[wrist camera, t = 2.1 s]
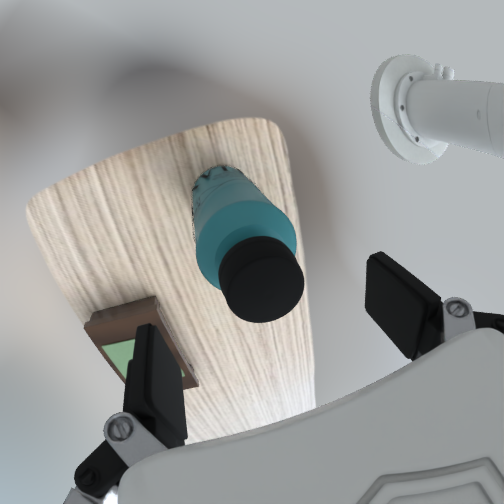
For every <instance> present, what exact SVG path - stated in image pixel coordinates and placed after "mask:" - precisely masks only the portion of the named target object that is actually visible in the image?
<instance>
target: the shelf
mask: <svg viewBox="0 0 504 504" xmlns="http://www.w3.org/2000/svg"><path fill="white" fill-rule="evenodd" d="M147 323H151V324H152V325H153V326H154V325H156V326H157V327H158V329H159V331H160V333H161V335H162V336H163V338H164V340H165V342H166V344H167V345H168V347H169V349H170V351H171V352H172V354H173V356H174V357H175V359H176V361H177V363H178V364H179V366H180V368H181V372H182V382H183V390H185V389H189V388H194V387H199V381H198V379H197V378H196V376H195V374H194V369H193V368H192V366H191V365H189V364H188V362H187V360H186V358H185V357H184V355H183V353H182V351H181V349H180V347H179V346H178V344H177V342H176V340H175V338H174V336H173V334H172V332H171V330H170V329H169V327H168V325H167V323H166V321H165V319H164V317H163V315H162V313H161V311H160V304H159V302H158V300H157V298H156V296H153V297H149V298H145V299H142V300H138V301H134V302H131V303H127V304H123V305H119V306H116V307H112V308H108V309H104V310H100V311H97V312H93V314H92V316H91V319H90V321H89V322H86V323H85V325H84V330H85V331H86V333H87V334H88V335H89V337H90V338H91V340H92V341H93V343H94V344H95V346H96V347H97V348H98V350H99V351H100V353H101V354H102V355H103V357H104V358H105V359H106V361H107V362H108V363H109V365H110V366H111V367H112V368H113V370H114V371H115V372H116V373H117V375H118V376H119V377H120V379H121V380H122V381H123V382H124V383H126V374H127V366H128V361H129V360H131V359H133V351H134V343H135V336H136V330H137V326H139V325H143V324H147Z"/></svg>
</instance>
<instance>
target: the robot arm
mask: <svg viewBox="0 0 504 504" xmlns="http://www.w3.org/2000/svg"><path fill="white" fill-rule="evenodd" d="M442 71H443V66H442V65H440V64H435V69H434V74H432V75H429V74H427V73H425V72H421V71H412V72H408V73H406V74H405V75H403V77H402V78H401V79H400V80H399V82H398V84H397V87H396V90H395V96H394V107H395V114H396V117H397V121H398V124H399V126H400V128H401V130H402V132H403V134H404V135H405V136H406V138H407V139H408V140H409V141H410V142H411V143H413V144H414V145H416V146H419V147H423V148H432V147H434V146H436V145H438V144H439V143H440V142H445V143H449V144H454V145H458V146H462V147H466V148H470V149H474V150H477V151H480V152H484V153H487V154H491V155H494V156H497V157H500V158H504V84H503V83H494V82H482V81H466V80H453V78H454V70H453V69H452V68H450V67H444V71H443V75H442V76H443V78H442V77H441V74H442ZM365 309H366V311H367V313H368V314H369V315H370V316H371V318H373V320H374V321H375V322H376V323H377V324H378V325H379V326H380V328H381V329H382V330H383V331H384V332H385V333H386V335H387V336H388V337H389V338H390V339H391V340H392V341H393V343H394V344H395V345H396V346H397V347H398V349H399V350H400V351H401V352H402V353H403V354H404V356H405V357H406V358H408V359H411V360H412V361H413V362H411V363H409V364H407V365H406V366H404V367H402V368H400V369H399V370H397V371H395V372H393V373H391V374H390V375H388V376H386V377H384V378H382V379H380V380H378V381H376V382H374V383H372V384H370V385H368V386H366V387H364V388H362V389H360V390H358V391H356V392H353V393H351V394H349V395H347V396H344V397H342V398H340V399H337V400H335V401H333V402H331V403H328V404H325V405H323V406H321V407H318V408H315V409H313V410H310V411H307V412H305V413H302V414H299V415H296V416H294V417H291V418H288V419H285V420H282V421H279V422H276V423H272V424H269V425H266V426H263V427H259V428H256V429H252V430H248V431H245V432H241V433H237V434H233V435H229V436H225V437H221V438H217V439H212V440H208V441H203V442H198V443H193V444H189V445H185V442H184V440H185V439H187V438H188V434H187V426H186V416H185V406H184V395H183V382H182V372H181V368H180V366H179V364H178V363H177V361H176V359H175V357H174V356H173V354H172V352H171V351H170V349H169V347H168V345H167V344H166V342H165V340H164V338H163V336H162V335H161V333H160V331H159V329H158V327H157V326H156V325H154V326H153V325H152V324H151V323H147V324H143V325H139V326H137V330H136V336H135V343H134V351H133V359H131V360H129V361H128V366H127V374H126V383H125V392H124V403H123V412H119V413H116V414H114V415H112V416H111V417H110V418H109V419H108V420H107V421H106V423H105V425H104V430H103V431H104V436H105V438H106V440H105V441H104V442H102V443H101V445H100V446H99V447H98V448H97V449H95V450H94V451H93V452H92V453H91V454H90V455H89V456H88V457H87V458H86V459H85V460H84V461H83V462H82V463H81V464H80V465H79V466H78V468H77V469H76V471H75V475H74V480H75V484H76V487H75V489H73V488H71V490H70V492H69V494H68V496H67V498H66V499H65V501H64V503H63V504H504V315H501V314H492V313H483V312H475V311H472V307H471V305H470V304H469V303H468V302H467V301H466V300H464V299H461V298H458V297H452V298H449V299H447V300H445V301H444V303H443V302H441V297H440V296H438V295H437V294H436V293H435V292H434V291H433V290H431V289H430V288H429V287H428V286H426V285H425V284H424V283H423V282H421V281H420V280H419V279H417V278H416V277H415V276H414V275H412V274H411V273H410V272H409V271H407V270H406V269H405V268H404V267H402V266H401V265H400V264H398V263H397V262H396V261H394V260H393V259H392V258H390V257H389V256H388V255H386V254H385V253H384V252H381V251H380V252H377V253H375V254H372V255H370V257H369V259H368V260H367V268H366V293H365Z"/></svg>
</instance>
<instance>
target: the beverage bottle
mask: <svg viewBox="0 0 504 504" xmlns="http://www.w3.org/2000/svg"><path fill="white" fill-rule="evenodd" d="M202 173H203V174H202ZM202 173H201V174H202V175H201V176H198V177H199V178H198V180H197V181H195V182H196V183H195V182H194V184H195V186H194V184H193V186H194V188H193V190H192V191H193V208H192V216H194V218H193V221H194V227H195V231H194V232H195V234H193V235H195V237H193V238H195V240H196V247H195V248H196V258H197V263H198V266H199V269H200V271H201V273H202V274H203V276H204V277H205V278H206V279H207V280H208V281H209V282H210V283H211V284H212V285H213V286H214V287H216V288H218V289H219V290H221V291H222V293H223V295H224V296H225V299H226V301H227V304H228V306H229V308H230V309H231V310H232V312H233V313H234V314H235V315H236V316H238V317H239V318H241V319H243V320H245V321H248V322H253V323H265V322H270V321H274V320H276V319H279V318H281V317H283V316H284V315H286V314H287V313H289V312H290V311H291V310H292V309H293V308H294V307H295V306H296V305H297V303H298V302H299V300H300V298H301V296H302V294H303V290H304V276H303V272H302V270H301V268H300V266H299V264H298V263H297V260H296V258H295V253H296V246H297V244H296V234H295V230H294V227H293V225H292V223H291V222H290V220H289V218H288V217H287V216H286V215H285V214H284V213H283V212H282V211H281V210H280V209H278V208H277V207H275V206H274V205H273V204H272V203H271V202H270V201H269V200H268V199H267V198H266V197H265V196H264V195H263V194H262V193H261V191H260V189H259V188H258V187H256V185H254V184H253V183H254V182H253V183H252V181H250V179H248V178H246V176H244V175H243V173H242V172H241V171H240V170H239V169H235V168H232V166H231V167H228V166H227V165H225V166H223V165H222V166H218V167H216V166H215V167H214V168H210V169H208V170H207V171H206V172H202ZM247 177H248V176H247ZM255 184H256V183H255ZM191 193H192V192H191ZM191 197H192V196H191ZM191 200H192V199H191ZM192 227H193V223H192ZM193 229H194V228H193Z"/></svg>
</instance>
